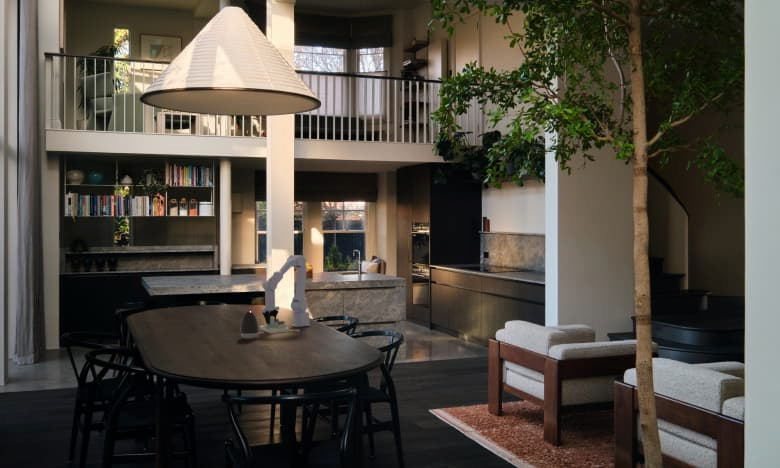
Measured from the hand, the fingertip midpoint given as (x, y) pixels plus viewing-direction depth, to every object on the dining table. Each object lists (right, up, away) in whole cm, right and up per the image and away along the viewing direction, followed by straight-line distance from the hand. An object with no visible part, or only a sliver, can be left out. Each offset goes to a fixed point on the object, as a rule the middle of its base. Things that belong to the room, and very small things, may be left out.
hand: (270, 323), depth 422 cm
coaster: (+15, -4, -3) cm, 16 cm away
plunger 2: (+7, -2, -3) cm, 7 cm away
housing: (+2, -4, +1) cm, 5 cm away
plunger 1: (+1, -1, +7) cm, 7 cm away
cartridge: (0, -1, 0) cm, 1 cm away
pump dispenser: (-7, -5, -27) cm, 28 cm away
